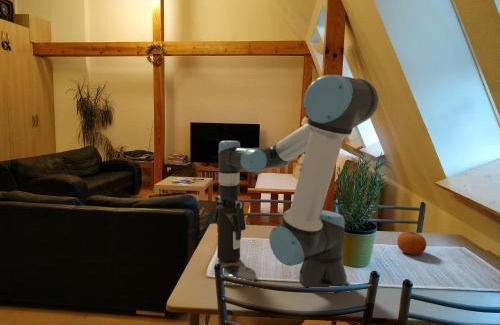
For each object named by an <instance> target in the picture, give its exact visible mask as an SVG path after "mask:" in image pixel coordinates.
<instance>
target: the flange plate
mask: <svg viewBox="0 0 500 325" xmlns="http://www.w3.org/2000/svg"><path fill="white" fill-rule="evenodd" d="M222 268H224V275H226V276H231V277H236V278H241V279H246V280H252V281H254V282H255V281H256V279H257V278H256V274H257V273H256V271H255V270H254V269H253V268H251V267H249V266H244V265H236V264H234V265H227V266H223V267H222ZM225 284H226V286H225V287H230V286H233V287H232V288H238V287H239V288H240V286H241V285H237V284H232V283H227V282H226V283H225Z"/></svg>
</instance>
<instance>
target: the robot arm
mask: <svg viewBox="0 0 500 325" xmlns="http://www.w3.org/2000/svg"><path fill="white" fill-rule="evenodd" d="M379 101H380V100H379V94H378V91H377V88H376V87H375V86H374V85H373V84H372V83H371V82H369V81H367V80H365V79H364V78H363V79H362V78H355V77H349V76H343V75H339V74H327V75H321V76H320V77H318V78H317V79H315V80H314V81H312V82H311V84H309V86H308V88H307V90H306V92H305V93H304V98H303V108H304V109H305V111H304V112H305V114H306V116H307V117H308V119H307V122H306V123H305V124H304V125H302V126H301V127H298V129H296V130H295V131H293V132H292V133H290V134H288V135H287V136H285V137H284V138H282V139H281V140H279V141H278V142H277V143H275V144H273V145H271V146H267V147H266V146H265V147H252V148H251V147H250V148H248V147H247V148H246V147H241V142H239V141H238V140H221V141H220V142H219V143H218V183H219V185H218V196H215V198H214V202H215V204H214V205H215V206H214V213H213V222H214V223H215V224H216V225H217V227H216V228H217V233H218V211H217V210H216V207H217V206H218V205H220V204H221V205H227V206H228V207H236V214H237V215H236V216H235V215H233V225H234V229H235V230H234V231H233V249H237V248H240V249H241V240H242V231H245V230H246V220H245V211H244V207H245V202H243V201H239V199H238V196H239V195H240V191H241V190H240V184H239V183H240V175H241V174H240V171H246V172H249V173H260V172H261V171H263V170H266V169H267V170H268V169H277V168H278V169H279V168H280V169H281V168H283V167H287V166H289V164H290V163H291V161H292V160H293V159H295V158H296V157H298V156H300V155H302V154H303V153H304V155H303V160H302V164H301V167H300V171H299V174H298V178H297V183H296V186H295V190H294V194H293V197H292V201H291V205H290V208H289V209H287V210H286V211H284V212H283V215H282V218H281V221H280V222H281V223H280V225H277V226H275V227H273V228H272V229H271V230H270V234H269V238H268V239H269V246H270V249H271V251H272V253H273V255H274V257H275V258H276V260H278V261H279V262H280V263H281V264H283V265H285V266H289V267H293V266H297V265H300V264H301V267H300V270H299V276H298V277H299V278H298V280H299V282H300V283H301V285H302V286H304V287H305V288H307V287H329V286H342V285H346V286H347V284H348V283H347V281H348V278H347V274H346V269H345V265H344V261H343V255H344V254H343V253H344V251H343V250H344V239H345V228H346V226H345V217H344V216H343V215H342V214H340V213H337V212H334V211H329V210H326V209H325V210H323V208H324V205H325V200H326V197H327V194H328V191H329V188H330V184H331V180H332V178H333V175H334V171H335V167H336V165H337V161H338V158H339V155H340V152H341V148H342V145H343V140H344V139H345V138H347V137H349V136H351V135H352V132H353V129H354V128H356V127H358V126H359V125H361V124H363V123H365V122H366V121H368V120H369V119H371V118H372V117H373V116H374V114H376V111H377V109H378V106H379ZM237 227H238V228H237Z"/></svg>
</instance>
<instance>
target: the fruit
mask: <svg viewBox="0 0 500 325" xmlns="http://www.w3.org/2000/svg"><path fill="white" fill-rule="evenodd" d="M396 244H397V247H398V249H399V250H400V252H403V253H405V254H408V255H419V254H422V253H424V252H425V251H426V248H427V240H426V239H425V237H424V236H423V235H422V234H420V233H418V232H415V231H404V232H402V233H400V234H399V235H398V237H397V243H396Z"/></svg>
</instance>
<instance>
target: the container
mask: <svg viewBox="0 0 500 325" xmlns="http://www.w3.org/2000/svg"><path fill="white" fill-rule="evenodd" d="M216 210H217V211H218V217H217V218H218V232H217V250H216V252H217V254H216V255H217V256H216V257H217V259H219V260H220V261H224V262H235V261H237V260H240V259H241V247H240V248H237V249H233V231H234V230H235V229H234V225H233V215H235V216H236V215H237V214H236V207H228V206H227V205H221V204H220V205H218V206H217V207H216ZM237 228H238V227H237Z"/></svg>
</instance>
